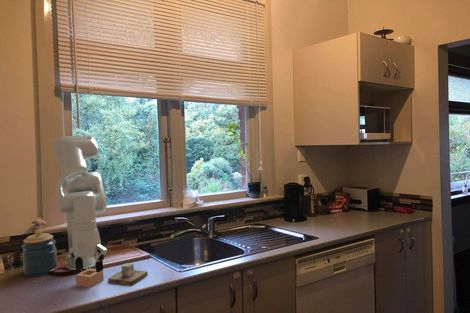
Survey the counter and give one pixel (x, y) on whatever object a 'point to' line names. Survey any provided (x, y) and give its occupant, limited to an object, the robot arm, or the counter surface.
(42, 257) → the canister
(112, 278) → the post board
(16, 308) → the counter surface
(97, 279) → the collar
